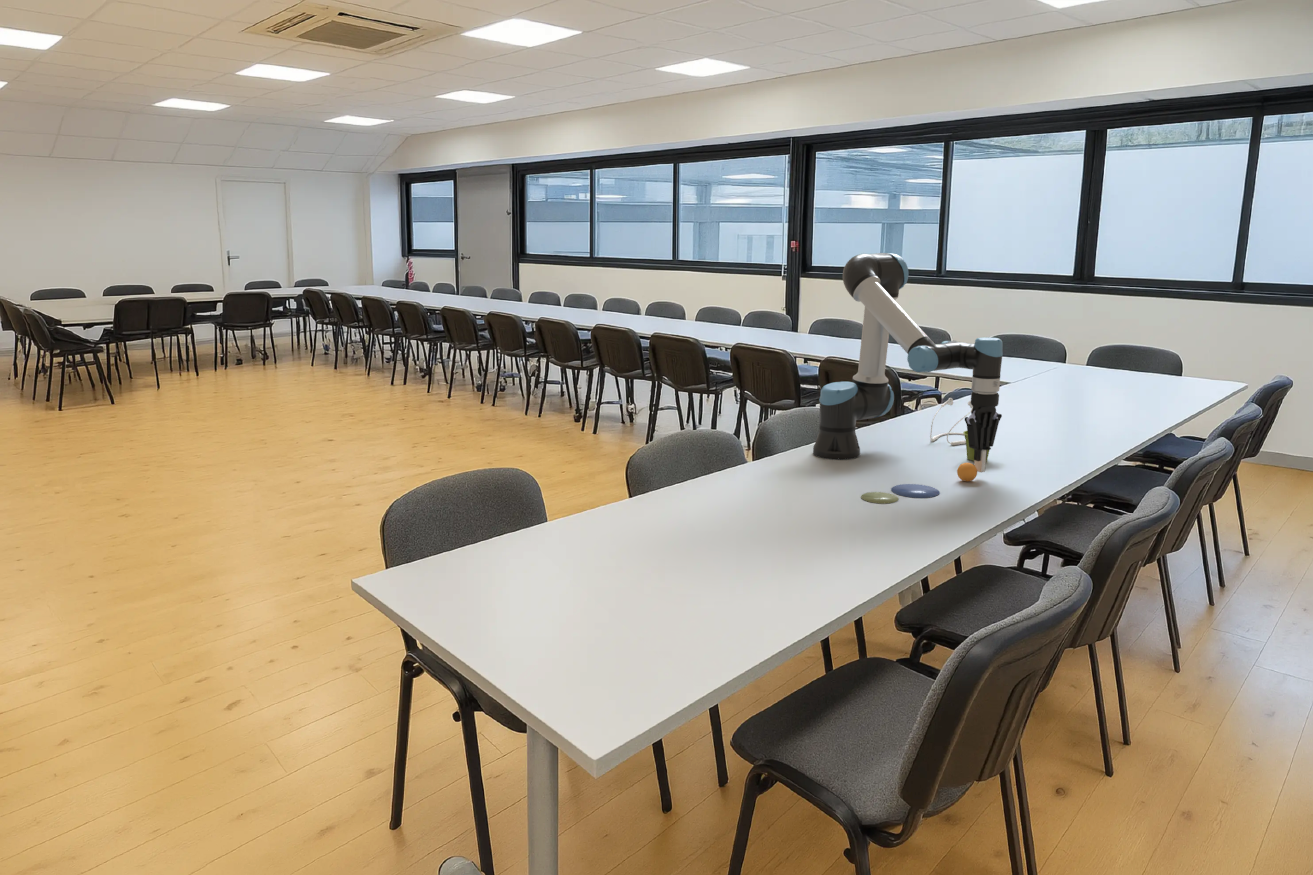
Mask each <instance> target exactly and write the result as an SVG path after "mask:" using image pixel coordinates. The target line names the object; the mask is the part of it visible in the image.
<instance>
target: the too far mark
mask: <svg viewBox="0 0 1313 875" xmlns="http://www.w3.org/2000/svg"><path fill="white" fill-rule="evenodd" d="M860 498H861V499H862V500H863V501H865V502H868V503H870V504H871V503H873V504H881V505H886V504H894V503H897V502H899V501H900V500H899V496H897V495H895V494H894V493H893V494H892V493H889V492H881V491H871V492H865V493H862V494H861V495H860Z"/></svg>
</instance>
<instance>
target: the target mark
mask: <svg viewBox="0 0 1313 875" xmlns="http://www.w3.org/2000/svg"><path fill="white" fill-rule="evenodd" d="M890 489H891V490H890V491H891V493H893V494H894V495H895V494H896V496H897V495H898V496H901V497H905V498H912V499H913V498H914V499H928V498H934V497H937V496H939V495H940V491H939V489H938V488H935V487H933V486H930V485H925V484H924V485H923V484H916V483H903V484H896V485H894V486H892V487H891V488H890Z"/></svg>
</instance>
